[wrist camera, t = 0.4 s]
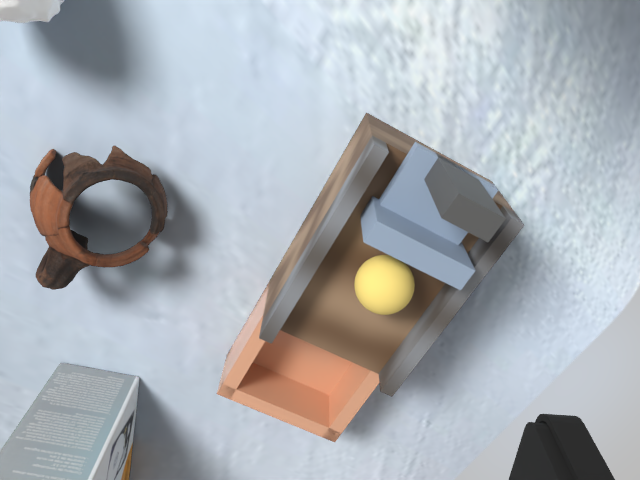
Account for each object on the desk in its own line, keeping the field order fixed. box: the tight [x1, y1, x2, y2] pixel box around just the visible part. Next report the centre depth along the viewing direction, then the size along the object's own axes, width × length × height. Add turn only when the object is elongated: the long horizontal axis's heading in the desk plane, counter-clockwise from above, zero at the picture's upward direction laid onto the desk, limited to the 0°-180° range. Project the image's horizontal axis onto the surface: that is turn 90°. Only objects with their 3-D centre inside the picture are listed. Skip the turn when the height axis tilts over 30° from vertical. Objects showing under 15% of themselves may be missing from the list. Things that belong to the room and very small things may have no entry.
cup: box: [217, 281, 379, 442], centre depth 47 cm, size 9×11×5 cm
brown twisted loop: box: [30, 146, 168, 289], centre depth 42 cm, size 12×10×8 cm
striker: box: [360, 142, 506, 290], centre depth 34 cm, size 6×7×7 cm
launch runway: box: [259, 113, 524, 396], centre depth 41 cm, size 16×11×8 cm
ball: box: [354, 255, 415, 315], centre depth 38 cm, size 4×4×4 cm
